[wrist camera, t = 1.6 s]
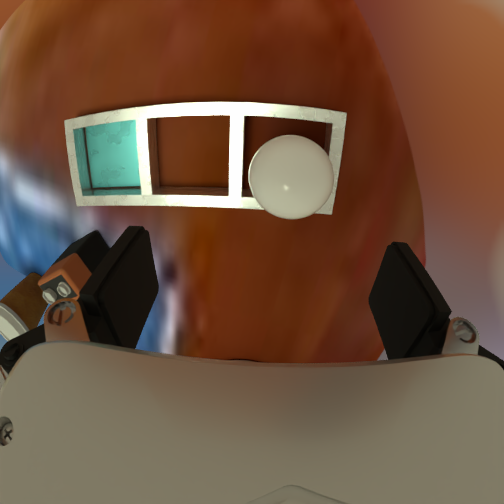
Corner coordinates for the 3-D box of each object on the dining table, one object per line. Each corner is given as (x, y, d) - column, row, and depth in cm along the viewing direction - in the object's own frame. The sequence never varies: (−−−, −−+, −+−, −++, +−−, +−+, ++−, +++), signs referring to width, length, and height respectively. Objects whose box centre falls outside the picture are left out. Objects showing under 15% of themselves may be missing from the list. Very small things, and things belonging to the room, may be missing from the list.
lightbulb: (270, 193, 29) (274, 248, 20) (240, 141, 26) (227, 171, 17) (324, 167, 27) (356, 211, 18) (297, 113, 24) (320, 126, 15)
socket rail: (326, 204, 29) (331, 214, 27) (87, 197, 29) (77, 205, 27) (339, 111, 24) (346, 113, 21) (77, 117, 24) (64, 120, 22)
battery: (69, 244, 33) (32, 287, 25) (97, 228, 32) (56, 274, 23) (85, 267, 36) (52, 313, 27) (114, 254, 34) (80, 304, 26)
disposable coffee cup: (53, 273, 37) (16, 323, 27) (63, 311, 42) (35, 359, 32) (18, 259, 36) (-19, 301, 26) (29, 296, 41) (0, 338, 31)
